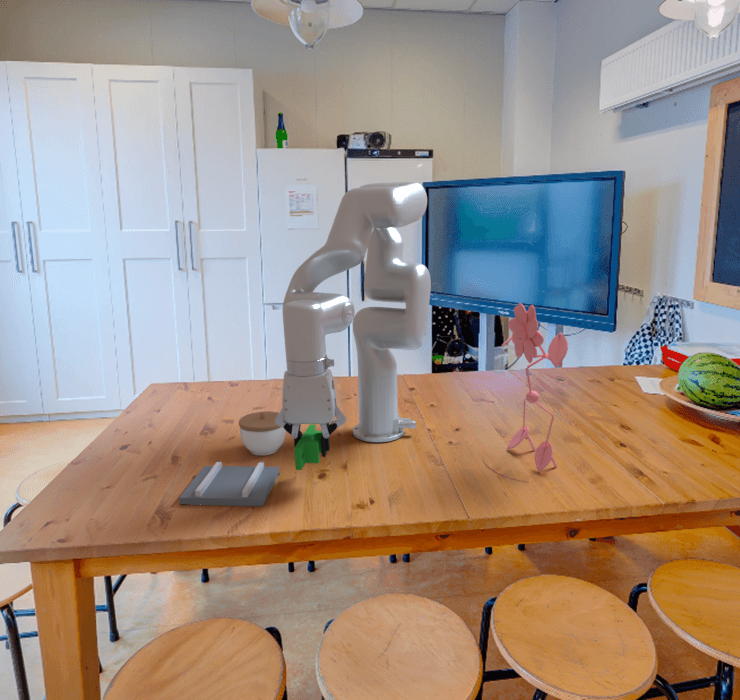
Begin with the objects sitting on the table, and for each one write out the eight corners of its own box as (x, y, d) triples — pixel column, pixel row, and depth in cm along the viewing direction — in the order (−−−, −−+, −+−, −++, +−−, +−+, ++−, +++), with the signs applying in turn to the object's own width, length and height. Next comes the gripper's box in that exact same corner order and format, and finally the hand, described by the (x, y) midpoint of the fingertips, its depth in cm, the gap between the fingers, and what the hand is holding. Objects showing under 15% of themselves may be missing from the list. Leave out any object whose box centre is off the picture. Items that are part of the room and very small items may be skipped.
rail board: (279, 473, 121) (278, 461, 120) (263, 506, 108) (262, 493, 107) (204, 472, 122) (203, 460, 121) (179, 504, 109) (178, 491, 108)
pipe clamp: (314, 471, 108) (313, 449, 106) (295, 470, 108) (293, 448, 107) (328, 444, 118) (327, 424, 117) (311, 444, 119) (309, 423, 118)
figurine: (520, 436, 139) (524, 292, 130) (582, 483, 114) (592, 311, 106) (461, 444, 135) (461, 297, 127) (512, 495, 111) (516, 317, 103)
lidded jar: (247, 441, 139) (244, 404, 136) (291, 441, 138) (289, 404, 136) (235, 460, 128) (232, 420, 126) (283, 460, 128) (281, 420, 126)
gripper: (352, 359, 111) (356, 445, 116) (267, 360, 112) (275, 446, 117) (349, 371, 104) (353, 462, 109) (258, 372, 105) (266, 463, 110)
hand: (312, 453), depth 113 cm, fingers closed on pipe clamp, 4 cm apart
